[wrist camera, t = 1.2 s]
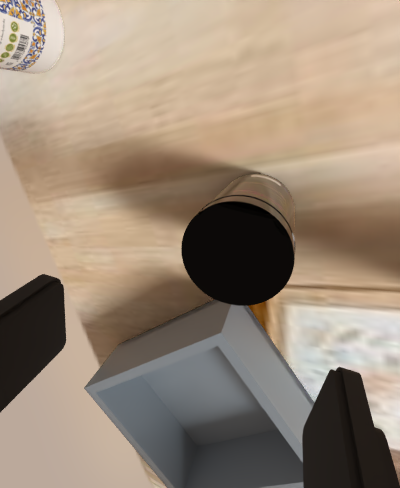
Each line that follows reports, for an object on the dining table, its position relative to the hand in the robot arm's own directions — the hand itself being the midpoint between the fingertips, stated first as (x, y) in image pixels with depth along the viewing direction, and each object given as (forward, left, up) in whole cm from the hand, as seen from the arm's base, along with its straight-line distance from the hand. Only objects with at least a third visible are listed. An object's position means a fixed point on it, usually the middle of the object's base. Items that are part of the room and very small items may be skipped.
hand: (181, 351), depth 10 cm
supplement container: (0, 0, -19) cm, 19 cm away
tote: (-15, +15, -19) cm, 29 cm away
